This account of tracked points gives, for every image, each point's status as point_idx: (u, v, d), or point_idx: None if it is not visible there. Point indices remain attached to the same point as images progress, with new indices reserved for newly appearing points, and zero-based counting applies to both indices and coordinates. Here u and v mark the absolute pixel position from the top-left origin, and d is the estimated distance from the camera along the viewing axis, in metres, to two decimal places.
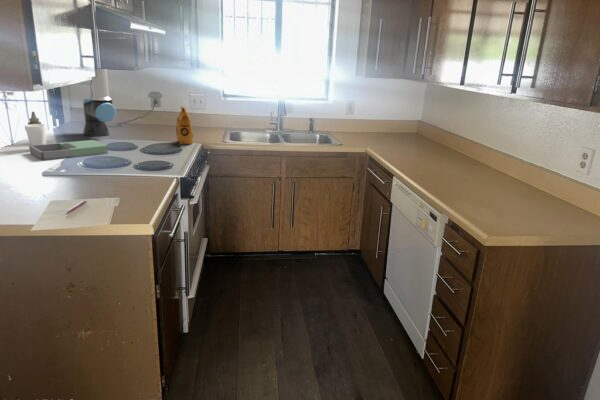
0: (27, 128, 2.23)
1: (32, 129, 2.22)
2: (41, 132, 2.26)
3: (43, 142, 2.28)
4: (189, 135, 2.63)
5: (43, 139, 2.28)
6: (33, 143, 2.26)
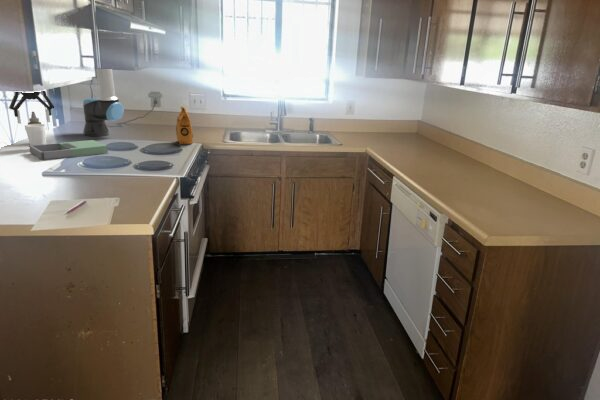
0: (27, 128, 2.23)
1: (32, 129, 2.22)
2: (41, 132, 2.26)
3: (43, 142, 2.28)
4: (189, 135, 2.63)
5: (43, 139, 2.28)
6: (33, 143, 2.26)
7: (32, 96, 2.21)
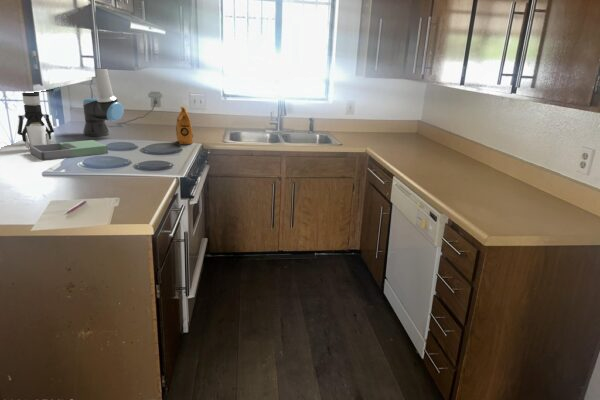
0: (27, 128, 2.23)
1: (32, 129, 2.22)
2: (41, 132, 2.26)
3: (43, 142, 2.28)
4: (189, 135, 2.63)
5: (43, 139, 2.28)
6: (33, 143, 2.26)
7: (35, 119, 2.25)
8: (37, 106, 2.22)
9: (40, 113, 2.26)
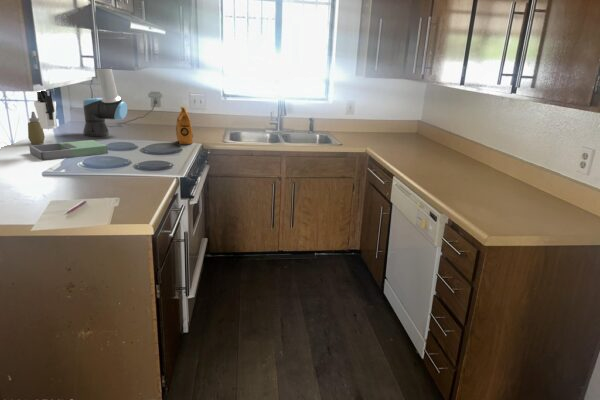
0: None
1: (55, 104, 2.13)
2: None
3: None
4: (189, 135, 2.63)
5: None
6: (54, 120, 2.15)
7: None
8: None
9: None
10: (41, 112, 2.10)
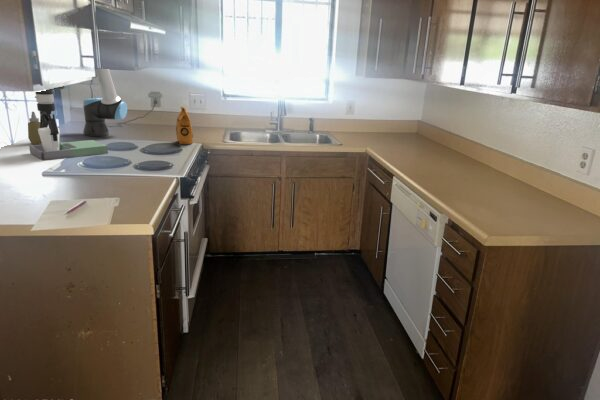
0: None
1: (59, 131, 2.17)
2: None
3: None
4: (189, 135, 2.63)
5: None
6: None
7: None
8: None
9: None
10: (45, 139, 2.14)
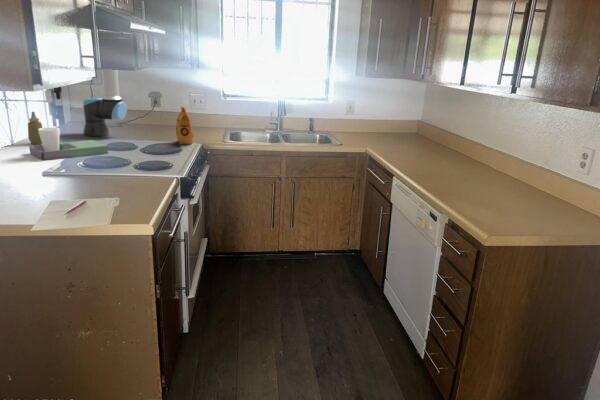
0: (56, 131, 2.15)
1: (59, 131, 2.18)
2: None
3: None
4: (189, 135, 2.63)
5: None
6: (58, 146, 2.19)
7: None
8: None
9: None
10: (45, 139, 2.14)
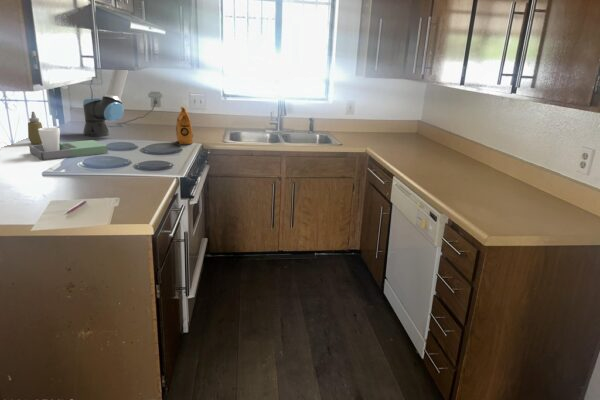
0: (56, 131, 2.15)
1: (59, 131, 2.18)
2: None
3: None
4: (189, 135, 2.63)
5: None
6: (58, 146, 2.19)
7: None
8: None
9: None
10: (45, 139, 2.14)
